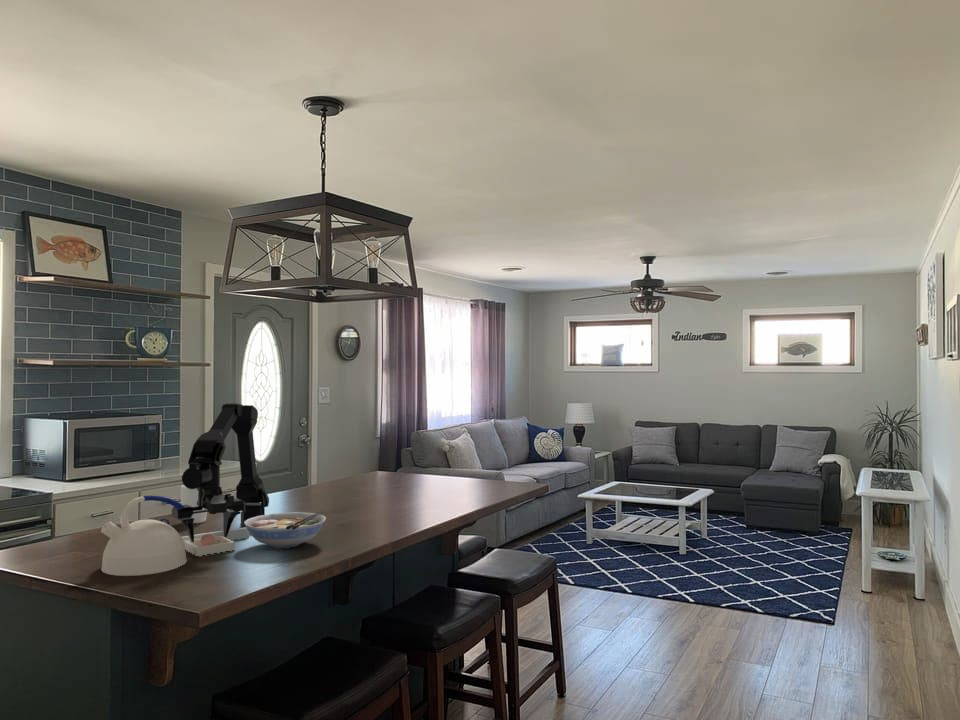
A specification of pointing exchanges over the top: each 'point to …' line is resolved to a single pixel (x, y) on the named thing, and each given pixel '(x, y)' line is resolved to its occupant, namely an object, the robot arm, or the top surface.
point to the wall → (231, 535)
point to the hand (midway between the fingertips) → (209, 539)
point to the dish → (209, 546)
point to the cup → (192, 502)
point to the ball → (207, 540)
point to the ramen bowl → (285, 528)
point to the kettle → (142, 544)
